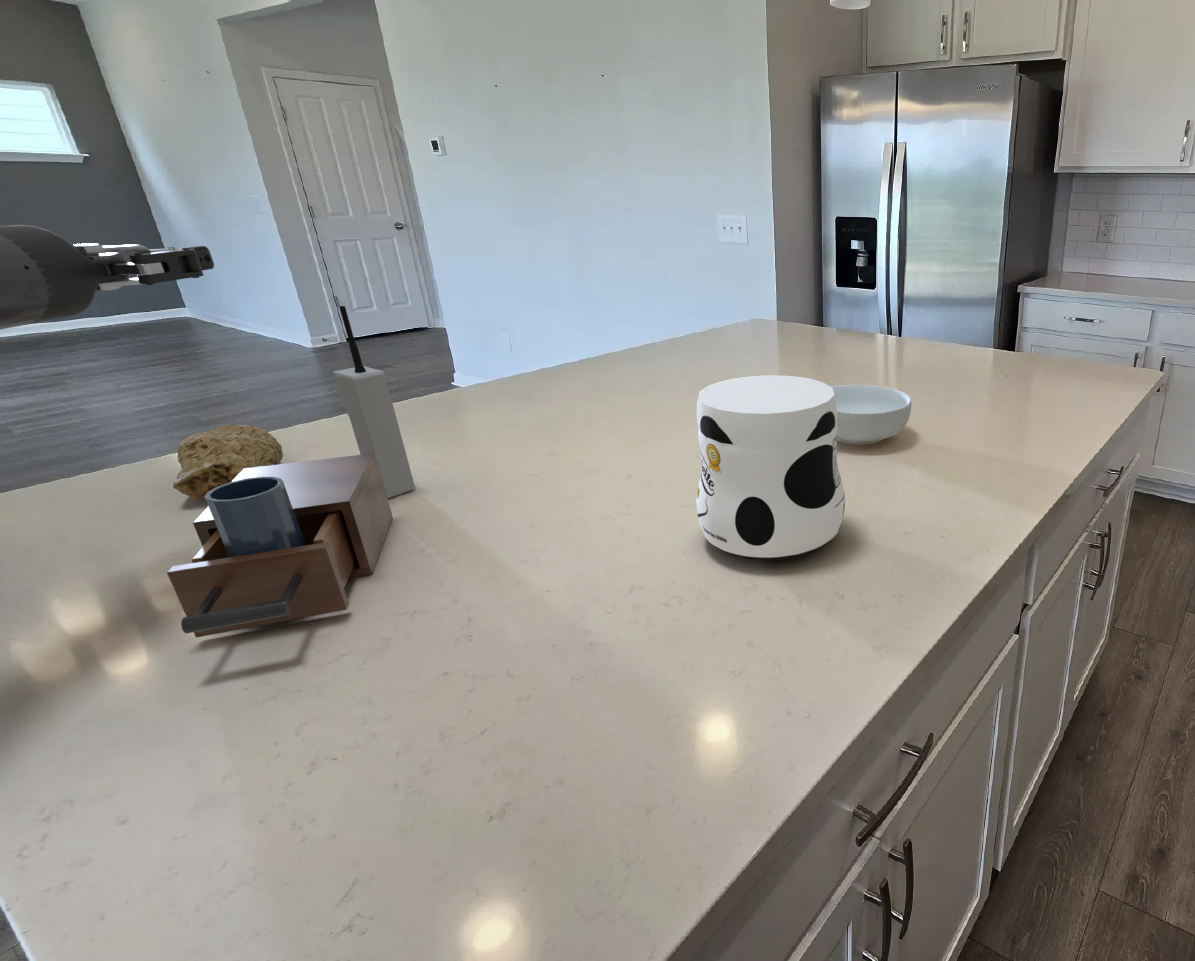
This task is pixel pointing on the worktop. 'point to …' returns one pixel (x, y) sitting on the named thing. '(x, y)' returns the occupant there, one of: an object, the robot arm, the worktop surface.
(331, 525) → the drawer
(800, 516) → the milk container
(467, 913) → the worktop surface
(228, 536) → the utensil crock
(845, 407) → the cereal bowl
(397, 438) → the vintage mobile phone
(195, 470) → the sponge
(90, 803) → the worktop surface
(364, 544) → the cabinet
